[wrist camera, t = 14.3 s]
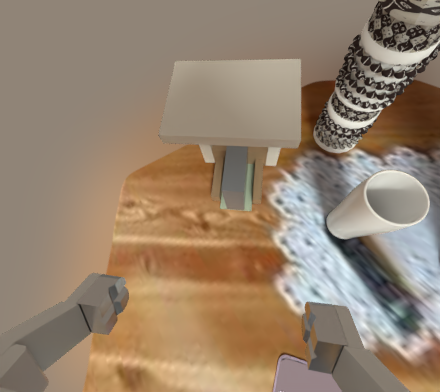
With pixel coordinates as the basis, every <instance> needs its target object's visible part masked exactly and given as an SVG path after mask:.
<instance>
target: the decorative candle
mask: <svg viewBox="0 0 440 392" xmlns="http://www.w3.org/2000/svg"><path fill="white" fill-rule="evenodd" d="M439 42H440V0H379V2H378V3H377V5H376V7H375V9H374V12H373V14H372V15H371V16H370V18H369V19H368V20H367V22H366V24H365V26H364V28H363V30H362V32H361V35H357V36H356V37H355V38H354V40H353V44H351V45H350V46H349V48H348V50H349V52H350V53H348V54H347V55H346V56H345V57H344V60H345V61H346V62H345V63H344V64H343V67H342V68H341V69H340V71H339V74H340V75H339V76H338V77H337V78H336V79H337V80H336V84H335V91H334V93H333V94H332V95H331V97H330V98H329V101H327V102H326V103H325V108H323V110H322V114H320V116H319V118H318V120H317V122H316V126H315V127H314V132H313V136H314V139H315V142H316V143H317V144H318V145H319V146H320V147H321V148H322V149H324V150H326V151H328V152H332V153H342V152H347V151H349V150H350V149H352V148H353V147H354V146H355V145H356V144H358V139H362V136H361V135H362V134H365V133H367V132H368V128H371V127H372V126H373V123H374V122H375V121H376V120H377V116H378V115H379V113H380V112H381V110H382V109H384V108H385V107H387V106H389V105H390V104H391V103H393V102H394V98H395V97H396V96H397V95H401V94H402V93H403V92H404V89H405V88H406V87H407V85H410V84H411V83H412V82H413V78H414V77H415V76H416V75H417V73H421V72H423V71H425V69H426V65H428V64H429V62H430V60H434V59H435V58H436V57H437V55H438V53H437V52H438V51H440V44H439ZM428 56H429V57H428ZM421 60H422V62H421V63H420V64H419V62H420V61H421ZM417 65H420V66H419V67H418V68H417V69H416V66H417ZM407 77H408V78H407ZM397 89H398V90H397Z"/></svg>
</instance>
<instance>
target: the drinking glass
mask: <svg viewBox="0 0 440 392" xmlns="http://www.w3.org/2000/svg"><path fill="white" fill-rule="evenodd" d="M429 207H430V200H429V196H428V193H427V191H426V189H425V188H424V186H423V185H422V184H421V183H420V182H419V181H418V180H417V179H416V178H414V177H413V176H411V175H409V174H407V173H405V172H402V171H398V170H383V171H379V172H377V173H375V174H373V175H372V176H370V177H369V178H367V179H366V180H364V181H363V182H361V183H360V184H359V185H358V186H356V187H355V188H354V189H353V190H352V191H351V192H350V193H349V194H348V195H347V196H346V197H345V198H344V200H343V201H342V202H341V203H340V204H339V205H338V206H337V207H336V208H335V209H334V210H333V211H331V212H330V213H329V215H328V217H327V227H328V229H329V231H330V232H331V233H332V234H333V235H334V236H336V237H338V238H341V239H350V238H354V237H360V236H368V235H376V234H383V233H389V232H393V231H397V230H400V229H403V228H406V227H409V226H412V225H415V224H417V223H419V222H420V221H421V220H423V219H424V218H425V216H426V215H427V213H428V211H429Z"/></svg>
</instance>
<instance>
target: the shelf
mask: <svg viewBox="0 0 440 392" xmlns="http://www.w3.org/2000/svg"><path fill="white" fill-rule="evenodd" d="M159 137H160V139H161V140H162V142H163V143H171V144H196V145H199V146H200V149H201V151H202V154H203V157H204V159H205V162H206V163H215V169H214V177H213V184H212V192H211V198H212V200H213V201H221V205H220V209H227V207H226V204H225V200H224V197H223V194H222V191H221V189H222V181H223V173H224V164H225V156H226V148H227V146H248V173H247V185H246V197H245V209H244V210H242V211H251V208H252V204H261V197H262V179H263V165H267V166H276V163H277V160H278V156H279V152H280V149H281V148H298V146H299V144H300V141H301V59H269V60H268V59H267V60H212V61H176V62H175V65H174V70H173V74H172V79H171V83H170V87H169V91H168V96H167V100H166V105H165V109H164V113H163V117H162V122H161V126H160V131H159ZM254 166H255V173H254ZM253 180H254V187H253ZM221 194H222V196H221ZM252 194H253V201H252ZM229 210H234V209H229Z"/></svg>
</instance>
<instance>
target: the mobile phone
mask: <svg viewBox="0 0 440 392" xmlns="http://www.w3.org/2000/svg"><path fill="white" fill-rule="evenodd" d="M273 392H342V391H341V389H340V388H339V386H338V385H337V383H336V382H335V380H334V379H333V377H332V374H327V373H322V372H317V371H312V370H308V366H307V362H306V361H304V360H300V359H297V358H295V357H292V356H289V355H282V356H281V357H280V358H279V360H278V365H277V371H276V376H275V382H274V388H273Z"/></svg>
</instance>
